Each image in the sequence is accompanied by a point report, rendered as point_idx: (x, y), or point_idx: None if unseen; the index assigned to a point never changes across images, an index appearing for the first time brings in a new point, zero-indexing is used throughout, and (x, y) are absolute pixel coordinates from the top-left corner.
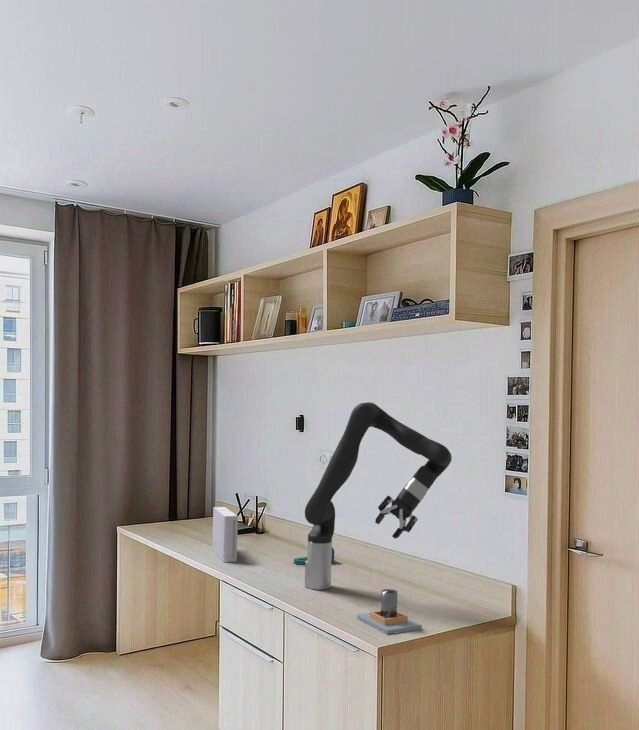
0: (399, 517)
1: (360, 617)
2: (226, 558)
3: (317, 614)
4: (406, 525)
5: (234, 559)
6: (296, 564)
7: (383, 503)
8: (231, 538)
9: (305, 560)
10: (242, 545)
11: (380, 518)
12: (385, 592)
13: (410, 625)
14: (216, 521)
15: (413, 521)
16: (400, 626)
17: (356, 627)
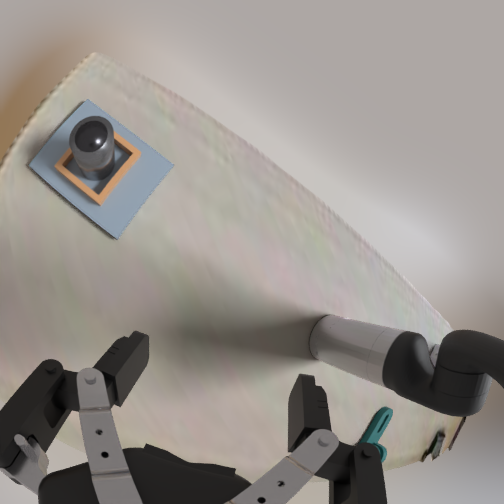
0: (117, 438)
1: (161, 155)
2: (438, 346)
3: (252, 159)
4: (46, 388)
5: (433, 355)
6: (384, 407)
7: (368, 493)
8: None
9: (380, 420)
10: (432, 411)
11: (299, 408)
12: (99, 121)
13: (48, 150)
14: None
15: (1, 422)
16: (65, 133)
17: (153, 113)
